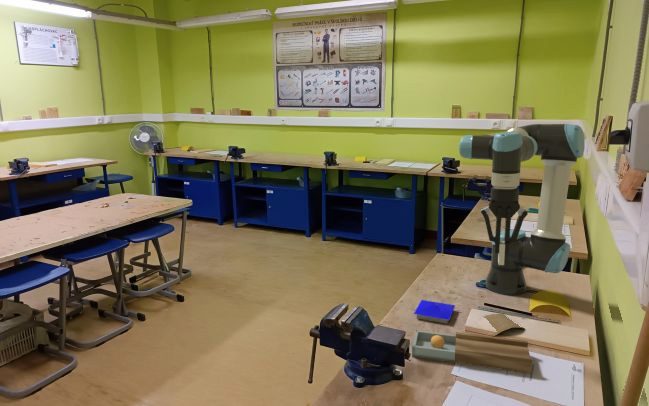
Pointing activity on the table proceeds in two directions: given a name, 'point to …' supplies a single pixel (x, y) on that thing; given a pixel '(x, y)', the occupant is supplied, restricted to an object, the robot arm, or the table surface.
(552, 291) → the table surface
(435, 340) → the ball
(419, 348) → the tray
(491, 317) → the brown curved sheet
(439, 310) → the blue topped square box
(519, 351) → the chute
